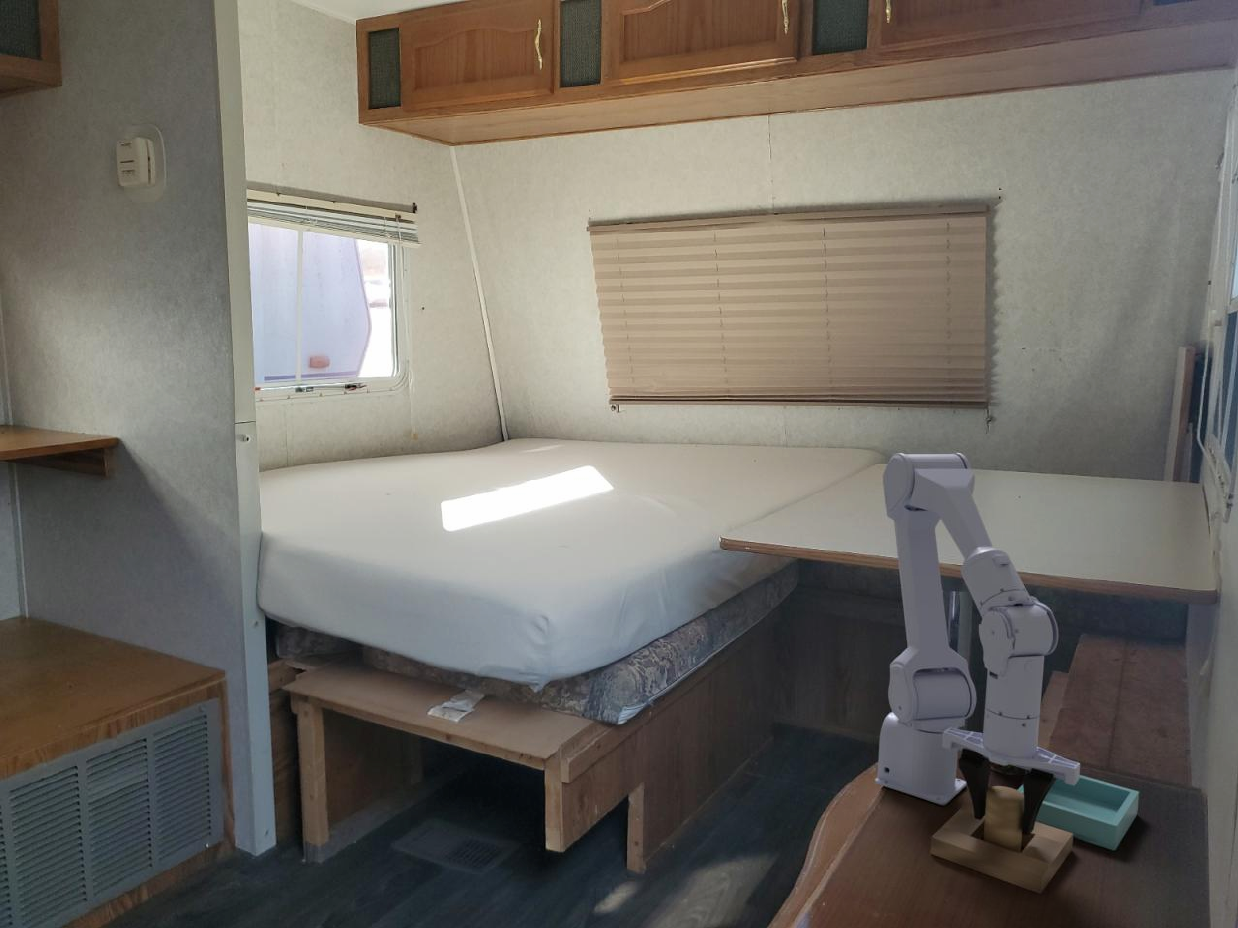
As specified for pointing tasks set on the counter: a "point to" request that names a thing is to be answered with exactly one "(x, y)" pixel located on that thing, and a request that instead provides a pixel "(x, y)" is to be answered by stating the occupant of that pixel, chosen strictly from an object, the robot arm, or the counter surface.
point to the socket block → (1003, 850)
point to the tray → (1090, 810)
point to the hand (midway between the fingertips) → (1003, 823)
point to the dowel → (1004, 817)
